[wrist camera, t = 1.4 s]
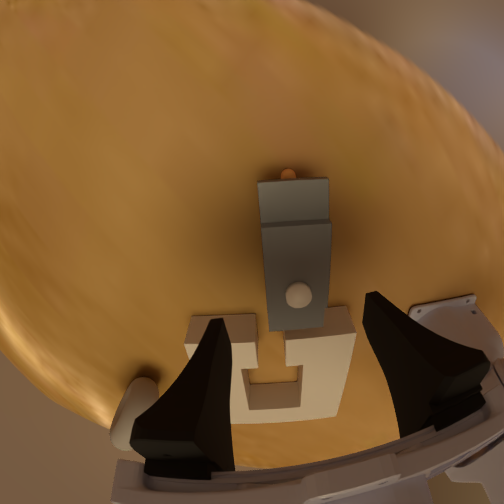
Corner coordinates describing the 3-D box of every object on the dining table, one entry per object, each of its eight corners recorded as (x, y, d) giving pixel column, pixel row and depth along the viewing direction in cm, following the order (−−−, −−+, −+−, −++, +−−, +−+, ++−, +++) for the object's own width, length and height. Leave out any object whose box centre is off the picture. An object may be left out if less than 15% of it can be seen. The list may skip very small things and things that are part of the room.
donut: (144, 357, 28) (117, 431, 19) (171, 371, 29) (151, 446, 20) (122, 390, 32) (100, 450, 23) (144, 401, 33) (126, 461, 24)
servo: (314, 164, 19) (335, 182, 14) (314, 293, 24) (326, 339, 19) (257, 167, 19) (257, 187, 14) (267, 297, 24) (269, 344, 19)
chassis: (346, 305, 24) (356, 332, 21) (331, 392, 30) (335, 416, 27) (191, 316, 25) (184, 343, 22) (217, 399, 31) (215, 423, 28)
